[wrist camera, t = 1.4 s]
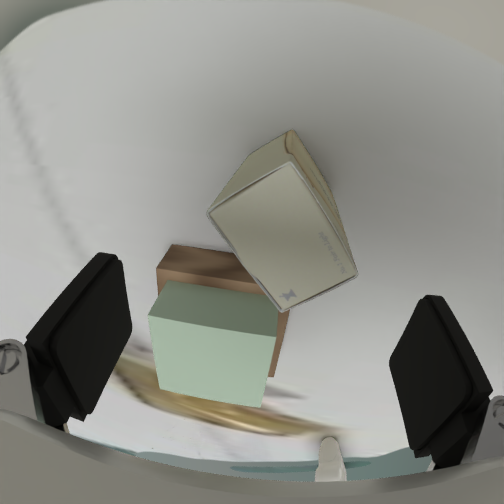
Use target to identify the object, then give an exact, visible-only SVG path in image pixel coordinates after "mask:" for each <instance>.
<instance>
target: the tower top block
mask: <svg viewBox="0 0 504 504" xmlns="http://www.w3.org/2000/svg"><path fill="white" fill-rule="evenodd" d="M148 321H149V328H150V334H151V341H152V347H153V353H154V359H155V365H156V370H157V376H158V381H159V386H160V389H163V390H167V391H171V392H175V393H180V394H184V395H189V396H194V397H199V398H204V399H209V400H215V401H220V402H226V403H232V404H239V405H245V406H252V407H260V406H261V402H262V398H263V394H264V390H265V386H266V381H267V377H268V373H269V368H270V364H271V360H272V355H273V351H274V346H275V342H276V337H277V322H278V309H277V307H276V306H275V305H274V304H273V302H272V301H271V300H270V299H269V297H268V296H267V295H260V294H253V293H246V292H240V291H233V290H227V289H220V288H214V287H207V286H201V285H195V284H189V283H183V282H177V281H171V280H167V282H166V284H165V286H164V287H163V289H162V291H161V292H160V294H159V296H158V298H157V299H156V301H155V303H154V305H153V307H152V308H151V310H150V312H149V314H148Z"/></svg>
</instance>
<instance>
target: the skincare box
mask: <svg viewBox="0 0 504 504" xmlns="http://www.w3.org/2000/svg"><path fill="white" fill-rule="evenodd" d="M207 217H208V219H209V220H210V221H211V223H212V224H213V225H214V227H215V228H216V229H217V231H218V232H219V234H220V235H221V237H222V238H223V239H224V240H225V242H226V243H227V244H228V246H229V247H230V249H231V250H232V251H233V253H234V254H235V255H236V257H237V258H238V259H239V261H240V262H241V263H242V265H243V266H244V267H245V269H246V270H247V271H248V272H249V274H250V275H251V276H252V277H253V279H254V280H255V281H256V283H257V284H258V285H259V286H260V288H261V289H262V290H263V291H264V292H265V294H266V295H267V296H268V297H269V299H270V300H271V301H272V302H273V304H274V305H275V306H276V307H277V309H278V310H279V311H280V312H281V313H283V312H285V311H287V310H289V309H292V308H294V307H296V306H299V305H301V304H303V303H306V302H307V301H310V300H312V299H314V298H316V297H318V296H320V295H322V294H325V293H327V292H329V291H331V290H333V289H335V288H337V287H339V286H341V285H343V284H345V283H347V282H349V281H350V280H352V279H355V278H356V277H357V276H358V271H357V268H356V265H355V262H354V260H353V256H352V253H351V250H350V247H349V244H348V240H347V237H346V234H345V231H344V228H343V225H342V222H341V219H340V216H339V213H338V209H337V206H336V203H335V200H334V197H333V194H332V192H331V190H330V189H329V187H328V185H327V183H326V182H325V180H324V178H323V176H322V174H321V173H320V171H319V169H318V168H317V166H316V164H315V163H314V161H313V159H312V158H311V156H310V155H309V153H308V151H307V150H306V148H305V147H304V145H303V144H302V142H301V141H300V139H299V138H298V136H297V135H296V133H295V131H294V130H290V131H288V132H287V133H285V134H283V135H281V136H280V137H278V138H276V139H274V140H273V141H271V142H269V143H268V144H266V145H264V146H263V147H261V148H260V149H258V150H256V151H255V152H253V153H252V154H250V155H249V156H248V157H247V158H246V160H245V161H244V162H243V164H242V165H241V166H240V167H239V169H238V170H237V172H236V173H235V174H234V176H233V177H232V178H231V180H230V181H229V182H228V183H227V185H226V186H225V188H224V189H223V190H222V192H221V193H220V194H219V196H218V197H217V198H216V200H215V201H214V202H213V204H212V205H211V206H210V208H209V209H208V210H207Z"/></svg>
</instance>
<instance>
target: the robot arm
mask: <svg viewBox="0 0 504 504" xmlns="http://www.w3.org/2000/svg"><path fill="white" fill-rule="evenodd" d="M131 333H132V321H131V316H130V310H129V304H128V298H127V292H126V285H125V278H124V271H123V264H122V261H121V260H118V257H117V256H116V255H115V254H108V253H102V252H99V253H97V254H96V255H95V256H94V257H93V258H92V259H91V261H90V262H89V263H88V264H87V265H86V266H85V267H84V268H83V269H82V270H81V271H80V273H79V274H78V275H77V276H76V277H75V278H74V279H73V280H72V282H71V283H70V284H69V285H68V286H67V287H66V288H65V290H64V291H63V292H62V293H61V294H60V295H59V297H58V298H57V299H56V300H55V301H54V302H53V304H52V305H51V306H50V307H49V308H48V310H47V311H46V312H45V313H44V315H43V316H42V317H41V318H40V320H39V321H38V322H37V323H36V325H35V326H34V327H33V328H32V330H31V331H30V332H29V333H28V335H27V336H26V339H27V341H26V343H25V344H24V345H23V344H22V343H21V342H19V341H17V340H14V339H6V340H2V341H0V504H504V396H496V397H494V398H493V399H492V400H491V401H490V399H489V397H488V396H489V395H490V394H491V393H492V392H493V389H492V387H491V384H490V382H489V380H488V378H487V376H486V374H485V372H484V370H483V368H482V366H481V364H480V362H479V360H478V358H477V356H476V354H475V352H474V350H473V348H472V346H471V344H470V343H469V341H468V339H467V337H466V335H465V333H464V332H463V330H462V328H461V326H460V325H459V323H458V321H457V319H456V318H455V316H454V314H453V312H452V311H451V309H450V307H449V306H448V304H447V302H446V301H445V299H444V298H443V297H442V296H435V295H426V296H424V298H423V299H420V300H419V302H418V303H417V306H416V308H415V310H414V312H413V314H412V316H411V318H410V320H409V322H408V324H407V326H406V328H405V330H404V332H403V334H402V336H401V338H400V340H399V342H398V344H397V346H396V348H395V349H394V351H393V353H392V355H391V357H390V360H389V367H390V371H391V374H392V378H393V381H394V385H395V389H396V393H397V396H398V400H399V404H400V408H401V412H402V416H403V420H404V425H405V429H406V433H407V438H408V442H409V446H410V448H411V449H412V450H414V454H415V458H419V457H425V456H429V455H430V454H431V456H432V461H431V463H430V465H429V467H428V469H427V471H426V472H422V473H416V474H410V475H403V476H397V477H388V478H379V479H369V480H357V481H356V480H355V481H331V482H297V481H275V480H261V479H249V478H241V477H233V476H225V475H218V474H212V473H206V472H200V471H194V470H190V469H184V468H179V467H175V466H170V465H166V464H162V463H158V462H154V461H150V460H146V459H142V458H139V457H135V456H132V455H129V454H125V453H122V452H119V451H116V450H113V449H110V448H107V447H104V446H101V445H98V444H95V443H92V442H89V441H86V440H84V439H81V438H78V437H76V436H73V435H71V434H70V433H69V430H68V426H67V421H68V419H69V417H73V418H75V419H78V420H80V421H83V422H84V420H85V418H86V415H87V414H91V413H92V412H93V410H94V408H95V406H96V404H97V402H98V400H99V398H100V396H101V394H102V391H103V389H104V387H105V385H106V383H107V381H108V379H109V377H110V375H111V373H112V371H113V369H114V367H115V365H116V363H117V361H118V359H119V357H120V355H121V353H122V351H123V349H124V347H125V345H126V343H127V341H128V339H129V338H130V335H131Z"/></svg>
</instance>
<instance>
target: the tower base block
mask: <svg viewBox="0 0 504 504" xmlns="http://www.w3.org/2000/svg"><path fill="white" fill-rule="evenodd" d="M156 273H157V286H158V296H159V294H160V292H161V291H162V289H163V287H164V286H165V284H166V282H167V280H171V281H177V282H183V283H189V284H195V285H201V286H207V287H214V288H220V289H227V290H233V291H240V292H246V293H253V294H260V295H266V294H265V292H264V291H263V290H262V289H261V288H260V286H259V285H258V284H257V283H256V281H255V280H254V279H253V277H252V276H251V275H250V274H249V272H248V271H247V270H246V269H245V267H244V266H243V265H242V263H241V262H240V261H239V259H238V258H237V257H236V255H235V254H234V253H229V252H222V251H215V250H208V249H201V248H194V247H187V246H180V245H173V244H172V245H171V247H170V248H169V250H168V251H167V253H166V254H165V256H164V257H163V259H162V260H161V262H160V263H159V265H158V266H157V268H156ZM289 311H290V309H289V310H287V311H285V312H283V313H281V312H280V311H279V310H278V322H277V337H276V342H275V346H274V351H273V355H272V360H271V364H270V368H269V373H268V377H274V374H275V370H276V366H277V362H278V358H279V354H280V349H281V345H282V341H283V337H284V333H285V329H286V324H287V320H288V316H289Z"/></svg>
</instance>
